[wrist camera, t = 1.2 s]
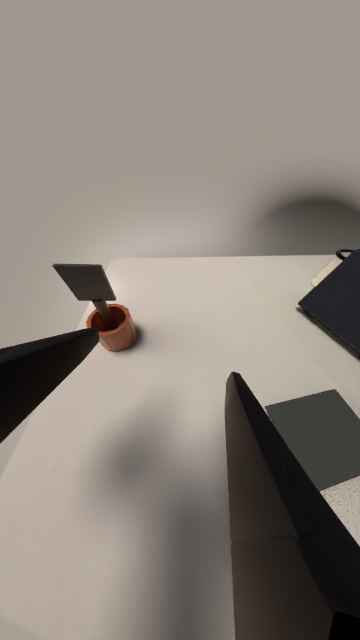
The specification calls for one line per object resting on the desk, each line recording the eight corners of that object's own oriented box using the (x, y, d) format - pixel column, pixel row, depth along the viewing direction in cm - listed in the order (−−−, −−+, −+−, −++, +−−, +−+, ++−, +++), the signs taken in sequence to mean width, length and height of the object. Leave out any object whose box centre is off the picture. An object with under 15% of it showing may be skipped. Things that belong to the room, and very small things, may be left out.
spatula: (130, 337, 25) (98, 269, 14) (104, 338, 24) (49, 268, 13) (132, 330, 26) (102, 261, 15) (106, 331, 25) (56, 260, 14)
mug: (301, 278, 41) (328, 249, 34) (325, 277, 43) (356, 248, 36) (335, 306, 34) (378, 275, 27) (363, 303, 36) (411, 273, 28)
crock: (115, 358, 23) (101, 343, 18) (94, 337, 25) (78, 319, 21) (143, 334, 26) (137, 316, 22) (122, 317, 28) (114, 298, 24)
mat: (305, 490, 15) (312, 494, 14) (264, 406, 19) (268, 405, 19) (384, 460, 17) (394, 461, 16) (329, 390, 21) (335, 389, 21)
